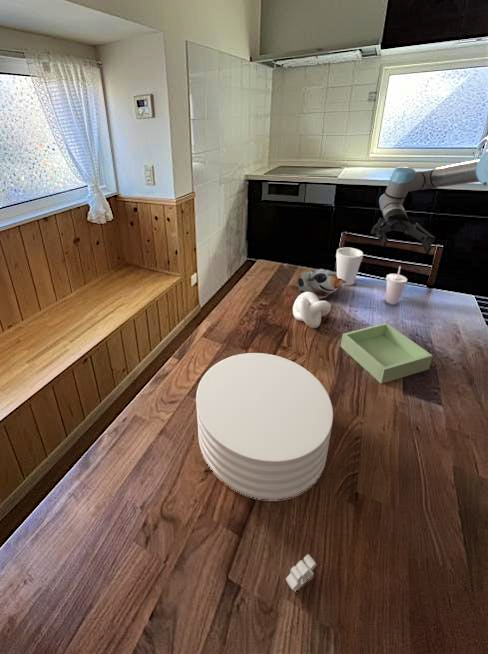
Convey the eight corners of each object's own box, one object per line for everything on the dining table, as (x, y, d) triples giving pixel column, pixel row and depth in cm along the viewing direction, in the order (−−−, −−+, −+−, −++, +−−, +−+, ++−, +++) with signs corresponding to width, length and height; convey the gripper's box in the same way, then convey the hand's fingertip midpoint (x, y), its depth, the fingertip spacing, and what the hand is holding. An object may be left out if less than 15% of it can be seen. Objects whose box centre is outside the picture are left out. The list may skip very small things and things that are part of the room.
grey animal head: (332, 284, 134) (349, 263, 123) (332, 309, 126) (351, 289, 116) (295, 273, 135) (309, 251, 124) (294, 297, 127) (309, 277, 116)
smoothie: (405, 302, 120) (414, 267, 114) (395, 308, 117) (403, 272, 111) (387, 294, 125) (395, 261, 119) (377, 300, 122) (384, 266, 116)
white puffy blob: (322, 310, 118) (325, 288, 115) (335, 331, 108) (338, 307, 104) (290, 311, 119) (291, 289, 115) (299, 332, 108) (301, 308, 104)
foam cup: (334, 286, 133) (338, 256, 127) (331, 275, 141) (334, 247, 135) (360, 288, 130) (365, 257, 125) (355, 276, 138) (360, 247, 133)
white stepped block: (307, 566, 54) (309, 551, 52) (314, 576, 53) (317, 561, 51) (284, 587, 52) (286, 572, 50) (291, 598, 51) (293, 583, 49)
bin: (428, 369, 91) (433, 355, 89) (381, 383, 87) (384, 369, 85) (383, 335, 104) (386, 322, 102) (340, 346, 101) (342, 333, 99)
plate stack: (191, 492, 65) (187, 453, 61) (204, 383, 91) (202, 350, 86) (342, 509, 61) (351, 469, 57) (312, 390, 86) (316, 355, 82)
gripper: (426, 230, 130) (442, 262, 114) (358, 219, 136) (364, 249, 120) (435, 213, 126) (453, 245, 110) (364, 203, 131) (371, 231, 115)
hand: (406, 247), depth 115 cm, fingers open, 13 cm apart
